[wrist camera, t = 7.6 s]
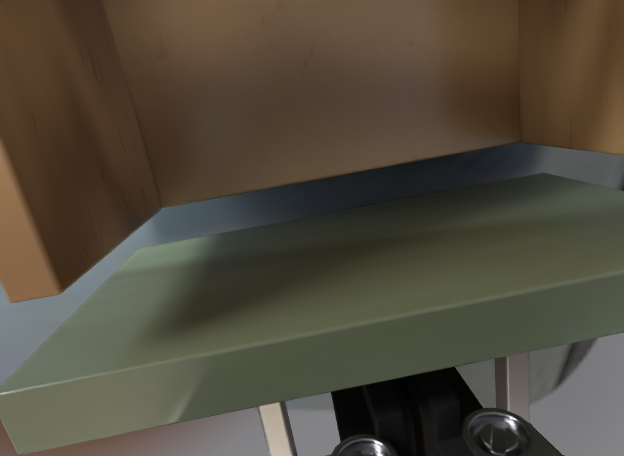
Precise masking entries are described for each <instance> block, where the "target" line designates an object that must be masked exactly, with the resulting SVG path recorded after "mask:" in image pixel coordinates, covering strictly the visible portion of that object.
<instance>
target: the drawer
mask: <svg viewBox="0 0 624 456" xmlns="http://www.w3.org/2000/svg"><path fill="white" fill-rule="evenodd" d="M519 142H522V143H529V144H536V145H544V146H552V147H560V148H568V149H576V150H584V151H592V152H600V153H608V154H616V155H624V0H0V283H1V285H2V287H3V290H4V292H5V294H6V296H7V299H8V300H9V301H10V302H11V303H17V302H22V301H27V300H32V299H38V298H43V297H48V296H53V295H59V294H61V293H62V292H64V291H65V290H66V289H67V288H68V287H69V286H71V285H72V284H73V283H74V282H75V281H77V280H78V279H79V278H80V277H81V276H83V275H84V274H85V273H86V272H87V271H88V270H90V269H91V268H92V267H93V266H94V265H96V264H97V263H98V262H99V261H100V260H102V259H103V258H104V257H105V256H106V255H107V254H109V253H110V252H111V251H112V250H113V249H115V248H116V247H117V246H118V245H119V244H121V243H122V242H123V241H124V240H125V239H126V238H128V237H129V236H130V235H131V234H132V233H134V232H135V231H136V230H137V229H138V228H140V227H141V226H142V225H143V224H144V223H145V222H147V221H148V220H149V219H150V218H151V217H153V216H154V215H155V214H156V213H157V212H158V211H160V210H161V209H162V208H166V207H172V206H177V205H183V204H188V203H194V202H199V201H204V200H210V199H215V198H221V197H226V196H231V195H237V194H242V193H248V192H253V191H259V190H264V189H269V188H275V187H280V186H286V185H291V184H297V183H302V182H307V181H313V180H318V179H324V178H329V177H335V176H340V175H345V174H351V173H356V172H362V171H367V170H373V169H378V168H383V167H389V166H394V165H400V164H405V163H411V162H416V161H421V160H427V159H432V158H438V157H443V156H449V155H454V154H459V153H465V152H470V151H476V150H481V149H487V148H492V147H497V146H503V145H508V144H514V143H519ZM623 332H624V191H621V190H617V189H612V188H608V187H604V186H599V185H595V184H590V183H586V182H582V181H577V180H573V179H569V178H564V177H560V176H555V175H551V174H547V173H540V174H534V175H529V176H524V177H518V178H513V179H508V180H502V181H497V182H492V183H486V184H481V185H476V186H470V187H465V188H460V189H454V190H449V191H444V192H438V193H433V194H428V195H422V196H417V197H411V198H406V199H401V200H395V201H390V202H385V203H379V204H374V205H369V206H363V207H358V208H353V209H347V210H342V211H337V212H331V213H326V214H321V215H315V216H310V217H305V218H299V219H294V220H289V221H283V222H278V223H273V224H267V225H262V226H257V227H251V228H246V229H241V230H235V231H230V232H225V233H219V234H214V235H209V236H203V237H198V238H193V239H187V240H182V241H177V242H171V243H166V244H161V245H155V246H150V247H145V248H139V249H138V250H137V251H136V252H135V253H134V254H133V255H132V256H131V257H130V258H129V259H128V260H127V261H126V262H125V263H124V264H123V265H122V266H121V267H120V268H119V269H118V270H117V271H116V272H115V273H114V274H113V275H112V276H111V277H110V278H109V279H108V280H107V281H105V282H104V283H103V284H102V285H101V286H100V287H99V288H98V289H97V290H96V291H95V292H94V293H93V294H92V295H91V296H90V297H89V298H88V299H87V300H86V301H85V302H84V303H83V304H82V305H81V306H80V307H79V308H78V309H77V310H76V311H75V312H74V313H73V314H72V315H71V316H70V317H69V318H68V319H67V320H66V321H65V322H64V323H63V324H62V325H61V326H60V327H59V328H58V329H57V330H56V331H55V332H54V333H53V334H52V335H51V336H50V337H49V338H48V339H47V340H46V341H45V342H44V343H43V344H42V345H41V346H40V347H39V348H38V349H37V350H36V351H35V352H34V353H33V354H32V355H31V356H30V357H29V358H28V359H27V360H26V361H25V362H24V363H23V364H22V365H21V366H20V367H19V368H18V369H17V370H16V371H15V372H14V373H13V374H12V375H11V376H10V377H9V378H8V379H7V380H6V381H5V382H4V383H3V384H2V385H1V386H0V419H1V421H2V423H3V425H4V427H5V429H6V431H7V433H8V435H9V437H10V439H11V441H12V443H13V445H14V447H15V449H16V451H17V453H18V454H21V455H22V454H27V453H32V452H37V451H42V450H47V449H52V448H57V447H62V446H67V445H71V444H76V443H82V442H87V441H91V440H96V439H101V438H106V437H111V436H116V435H121V434H126V433H131V432H136V431H141V430H145V429H151V428H155V427H160V426H165V425H170V424H175V423H180V422H185V421H190V420H195V419H200V418H205V417H210V416H214V415H219V414H224V413H229V412H234V411H239V410H244V409H249V408H254V407H257V408H258V412H259V416H260V420H261V424H262V428H263V432H264V436H265V439H266V443H267V447H268V451H269V455H270V456H297V452H296V447H295V443H294V439H293V434H292V430H291V425H290V421H289V417H288V412H287V408H286V404H285V401H288V400H293V399H298V398H303V397H308V396H313V395H318V394H323V393H328V392H333V391H338V390H343V389H347V388H352V387H357V386H362V385H367V384H372V383H377V382H382V381H387V380H392V379H397V378H402V377H407V376H411V375H416V374H421V373H426V372H431V371H436V370H441V369H446V368H451V367H456V366H461V365H466V364H471V363H475V362H480V361H485V360H490V359H495V382H496V408H499V409H503V410H507V411H510V412H512V413H514V414H517V415H519V416H521V417H522V418H523V419H524V420H526V421H527V422H528V423H530V412H529V411H530V393H529V352H530V351H535V350H540V349H544V348H549V347H554V346H559V345H564V344H569V343H574V342H579V341H584V340H589V339H594V338H599V337H604V336H608V335H613V334H618V333H623ZM530 424H531V423H530ZM327 456H331V455H327Z"/></svg>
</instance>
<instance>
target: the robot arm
mask: <svg viewBox="0 0 624 456" xmlns="http://www.w3.org/2000/svg"><path fill="white" fill-rule="evenodd" d="M331 395H332V400H333V405H334V410H335V416H336V421H337V426H338V431H339V436H340V441H341V443H340V444H339V445H337V446H336V447H335V449H334V451H333V453H332V454H331V456H564V455H562V454H561V453H560V452H559V451H558V450H557V449H556V448H555V447H554V446H553V445H552V444H551V443H549V442H548V441H547V440H546V439H545V438H544V437H543V436H542V435H541V434H540V433H539V432H538V431H537V430H536V429H535V428H534V427H533V426H532V425H531V424H530V423H528V422H527V421H526V420H524V419H523V418H522V417H521V416H519V415H517V414H514V413H512V412H510V411H507V410H503V409H499V408H483V407H482V405H481V404H480V403H479V401H478V400H477V398H476V397H475V395H474V394H473V393H472V391H471V390H470V388H469V387H468V385H467V384H466V383H465V381H464V380H463V378H462V377H461V375H460V374H459V373H458V371H457V370H456V368H455V367H451V368H446V369H441V370H436V371H431V372H426V373H421V374H416V375H411V376H407V377H402V378H397V379H392V380H387V381H382V382H377V383H372V384H367V385H362V386H357V387H352V388H347V389H343V390H338V391H333V392H331Z"/></svg>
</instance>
